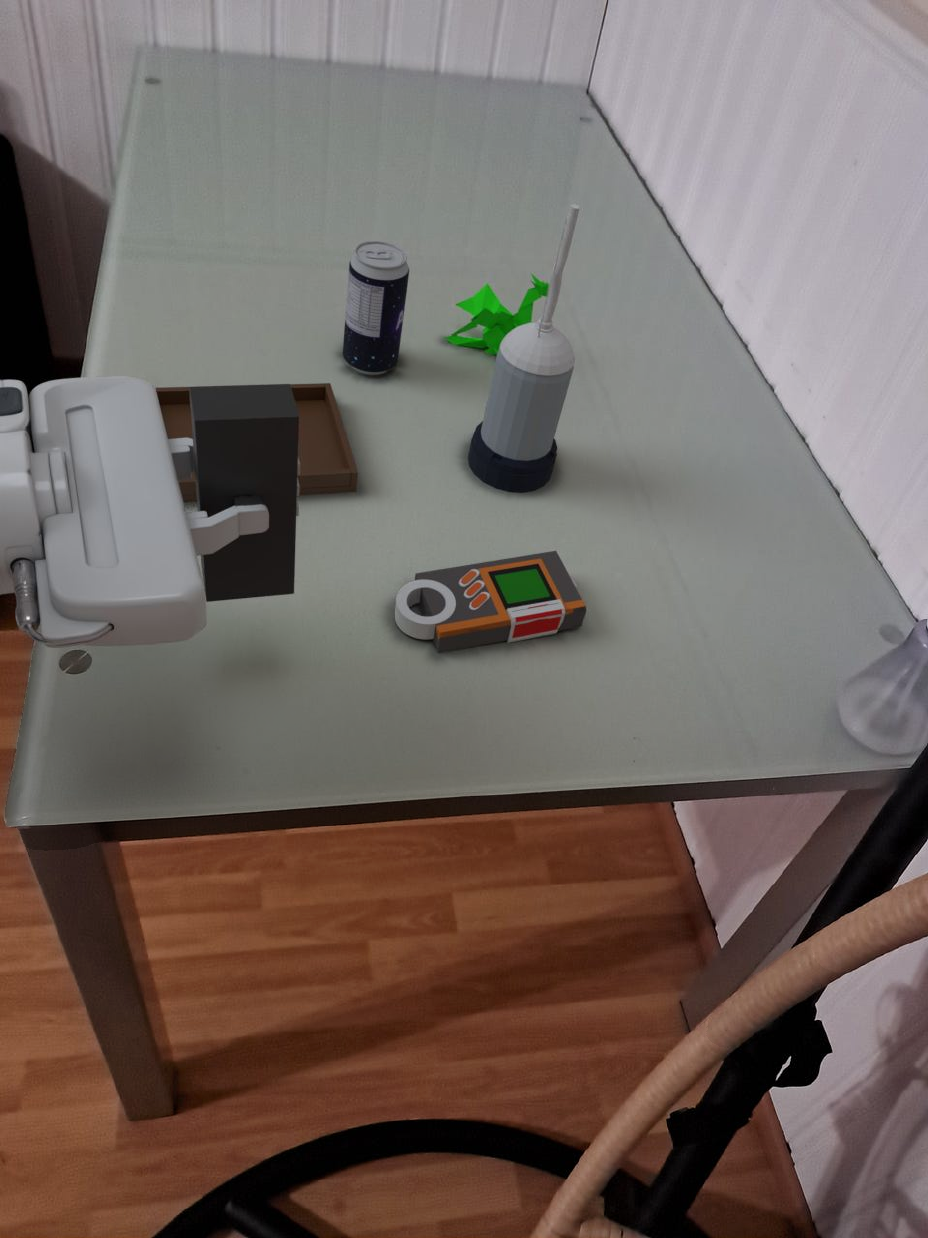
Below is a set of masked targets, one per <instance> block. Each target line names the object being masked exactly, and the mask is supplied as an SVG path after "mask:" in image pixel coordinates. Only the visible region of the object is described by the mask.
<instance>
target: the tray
mask: <svg viewBox="0 0 928 1238" xmlns="http://www.w3.org/2000/svg"><path fill="white" fill-rule="evenodd" d="M289 384H290V385H291V389H292V393H293V396H294V400H295V403H296V407H297V411H298V414H299V426H300V437H299V441H298V458H299V462H300V475H297V478H298V482H299V486H300V488H299V496H313V495H329V494H345V493H346V494H347V493H356V492H357V487H358V475H359V471H358V468H357V465H356V462H355V458H354V454H353V453H352V449H351V445H350V441H349V439H348V436H347V433H346V430H345V427H344V423H343V420H342V417H341V413H340V410H339V407H338V403H337V400H336V396H335V394H334V390H333V387H332V384H331V382H322V383H319V382H317V383H289ZM189 387H190V386H166V387H164V386H163V387H155V389H156V393H157V397H158V401H159V405H160V409H161V413H162V417H163V421H164V425H165V429H166V433H167V437H168V439H176V438H190V439H193V435H192V421H191V406H190V392H189ZM178 482H179V486H180V490H181V494H182V498H183V502H184V503H197V493H196V479H195V473H192V478H191V479H182V480H178Z"/></svg>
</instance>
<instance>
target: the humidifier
mask: <svg viewBox="0 0 928 1238" xmlns="http://www.w3.org/2000/svg"><path fill="white" fill-rule="evenodd" d="M580 207H581V206H580V205H578V204H576V203H572V204H570V207H569V210H568V215H567V217H565V221H564V225H563V230H562V232H561V233H562V234H561V237H560V242H559V244H558V245H559V246H558V250H557V254H556V257H555V261H554V263H553V267H552V270H551V275H550V280H549V283H548V284H549V287H548V292H547V296H546V297H545V302H544V307H543V309H542V312H541V315H540V317H539V318H538V320H537V321H533V322H532V321H531V322H530V323H527V324H524V325H521V326H518V327H516V328H515V329H513V330H512V331H510V332H509V333H508V334H507V335H506V336H505V337H504V339H503V340H502V342H501V344H500V348H499V351H498V353H497V355H496V358H495V362H494V367H493V372H492V375H491V381H490V385H489V389H488V390H489V391H488V396H487V400H486V404H485V410H484V415H483V418H482V421H481V422H479V424H477V425H476V427H475V430H474V432H473V434H472V437H471V440H470V445H469V449H468V454H467V462H468V467H469V468H470V470H471V471H472V473H473V475H474V476H475V477H477V479H479V480H480V481H481V482H482V483H484V484H486V485H488V486H489V487H491V488H493V489H496V490H500V491H504V492H506V493H515V494H517V493H518V494H523V493H531V492H535V491H537V490H539V489H542V488H543V487H545V486H546V484H548V482H549V481H550V480H551V477H552V475H553V469H554V467H555V466H554V465H555V463H556V460H557V457H558V453H557V451H558V444H557V440H556V438H555V436H556V434H557V433H556V432H557V428H558V426H559V422H560V418H561V415H562V411H563V407H564V404H565V400H566V397H567V393H568V390H569V387H570V384H571V380H572V375H573V372H574V369H575V361H576V357H575V352H574V349H573V346H572V344H571V342H570V341H569V339H568V338H567V336H565V334H564V333H563V332H562V331H561V330H560V329H559V328H557V327H556V326H554V325H553V321H552V320H553V317H554V313H555V310H556V307H557V303H558V301H559V297H560V292H561V287H562V279H563V272H564V269H565V266H566V263H567V259H568V256H569V253H570V249H571V245H572V241H573V236H574V233H575V228H576V225H577V222H578V217H579V214H580V213H579V212H580Z"/></svg>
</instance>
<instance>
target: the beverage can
mask: <svg viewBox="0 0 928 1238" xmlns="http://www.w3.org/2000/svg"><path fill="white" fill-rule="evenodd" d="M407 260H408V256H407V254H406V252H405V251H404V250H403V249H402V248H401V247H399V246H398V245H395V244H393V243H390V242H387V241H382V240H368V241H364V242H361V243H359V244H358V245H357V246H355V249H354V253H353V255H352V256H351V258H350V259H349V265H348V278H347V290H346V302H345V303H346V304H345V317H344V329H343V343H342V357H343V359H344V361H345V362H346V363H347V364H348V365H349V366H350V367H351V368H352V369H353V370H354V371H356V372H358V373H360V374H363V375H367V376H379V375H383V374H386V373H387V372H388V371H390V370H391V369H393V368H395V367H396V366H397V365H398V362H399V357H400V350H401V349H400V348H401V339H402V332H403V326H404V325H403V324H404V316H405V309H406V300H407V292H408V286H409V285H408V282H409V277H410V267H409V263H408V262H407Z"/></svg>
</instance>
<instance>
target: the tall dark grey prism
mask: <svg viewBox="0 0 928 1238" xmlns="http://www.w3.org/2000/svg"><path fill="white" fill-rule="evenodd" d="M290 384H291V383H273V384H271V383H269V384H237V385H236V384H235V385H200V386H188V387H189V392H190V406H191V421H192V435H193V450H194V464H195V479H196V493H197V502H196V506H197V512H198V511H206V512H207V515H208V518H209V517H211V516H213V515H215V514H217V513H220V512H222V511H224V510H226V509H228V508H230V507H232V506H234V496H243V495H245V496H251V495H260V496H262V497H263V499H264V501H265V504H266V507H267V509H268V512H269V528H268V529H267V531H265V532H262V533H255V534H247V535H239V537H238V538H236V539H235V540H233V541H232V542H230V543H229V544H227V545H225V546H224V547H222V548H221V549H219V550H218V551H216V552H214V553H213V554H206V555H200V564H201V565H200V566H201V575H202V579H203V584H204V589H205V599H206V603H209V602H210V603H211V602H222V601H232V600H242V599H253V598H264V597H265V598H266V597H274V596H283V595H284V596H286V595H287V596H288V595H294V594H295V577H296V576H295V575H296V540H297V539H296V538H297V517H299V515H300V504H299V501H298V497H299V496H300V495H299V488H300V486H299V482H298V478H297V475H300V462H299V458H298V441H299V437H300V426H299V414H298V411H297V407H296V403H295V400H294V396H293V393H292V389H291V385H290Z"/></svg>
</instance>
